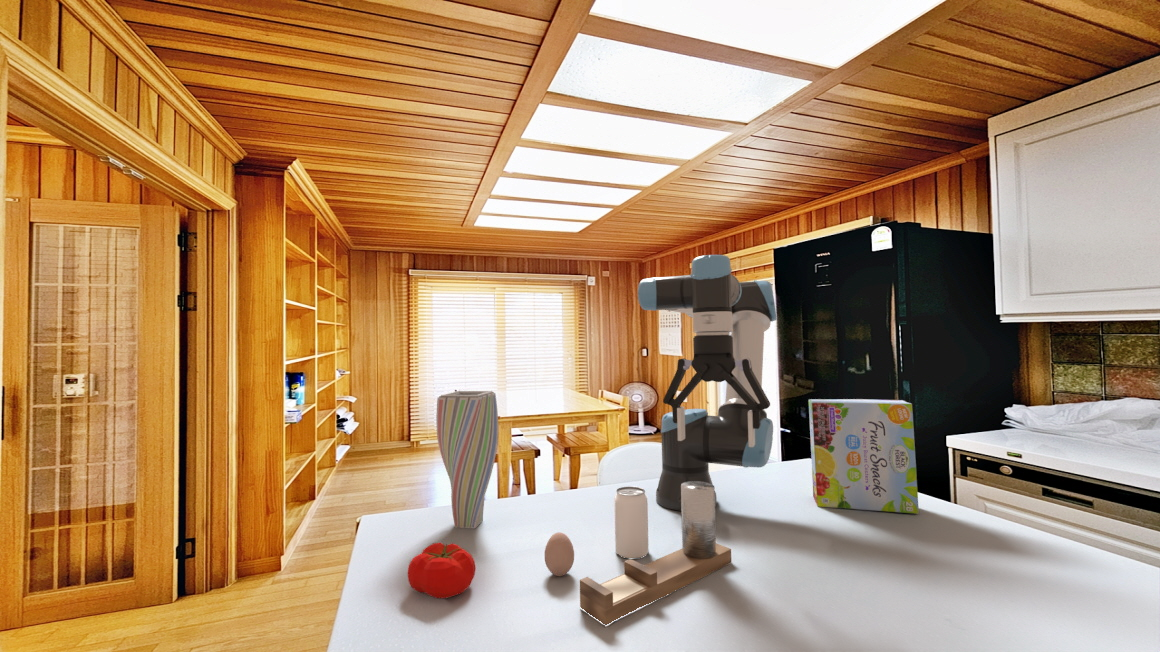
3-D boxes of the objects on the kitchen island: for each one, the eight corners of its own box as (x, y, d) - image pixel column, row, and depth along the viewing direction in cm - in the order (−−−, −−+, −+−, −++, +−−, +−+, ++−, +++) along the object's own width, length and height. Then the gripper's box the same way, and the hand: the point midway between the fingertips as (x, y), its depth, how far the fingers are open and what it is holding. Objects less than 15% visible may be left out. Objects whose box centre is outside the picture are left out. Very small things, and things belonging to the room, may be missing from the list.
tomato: (442, 612, 74) (442, 569, 74) (397, 593, 80) (397, 554, 80) (486, 584, 82) (486, 546, 82) (442, 569, 88) (442, 533, 88)
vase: (506, 514, 115) (504, 389, 116) (485, 537, 102) (484, 396, 103) (454, 511, 118) (452, 389, 119) (427, 534, 104) (426, 396, 105)
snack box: (908, 503, 118) (904, 399, 118) (920, 516, 109) (915, 403, 110) (811, 496, 125) (807, 397, 125) (815, 507, 116) (812, 401, 117)
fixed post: (675, 551, 88) (674, 485, 88) (696, 542, 92) (694, 479, 92) (702, 562, 83) (700, 493, 84) (723, 552, 87) (721, 486, 87)
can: (647, 561, 90) (646, 496, 90) (613, 558, 91) (612, 495, 91) (649, 546, 96) (648, 486, 96) (617, 544, 97) (616, 485, 98)
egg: (576, 580, 83) (575, 537, 83) (546, 583, 82) (545, 540, 82) (572, 566, 88) (571, 526, 88) (543, 569, 87) (542, 528, 87)
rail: (580, 609, 74) (579, 579, 74) (704, 551, 93) (704, 528, 93) (605, 627, 69) (605, 595, 69) (731, 562, 88) (730, 538, 89)
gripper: (646, 335, 97) (648, 440, 96) (778, 332, 85) (782, 452, 84) (658, 335, 103) (661, 434, 103) (783, 332, 91) (786, 444, 91)
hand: (715, 442), depth 93 cm, fingers open, 13 cm apart
